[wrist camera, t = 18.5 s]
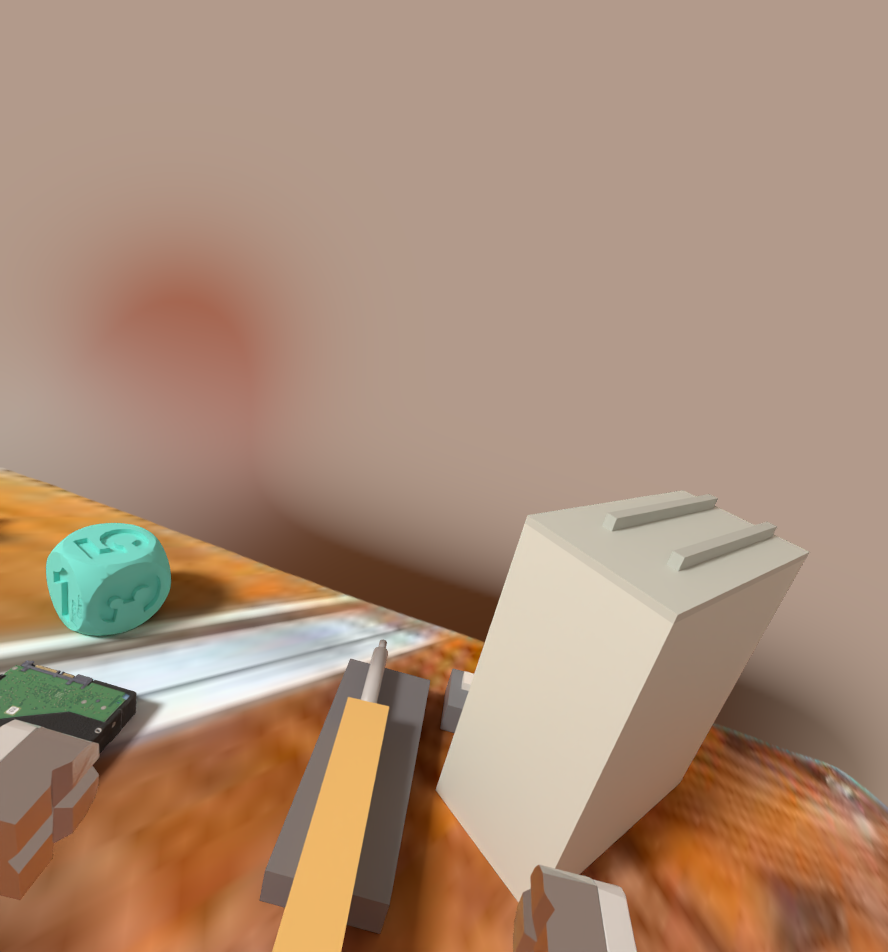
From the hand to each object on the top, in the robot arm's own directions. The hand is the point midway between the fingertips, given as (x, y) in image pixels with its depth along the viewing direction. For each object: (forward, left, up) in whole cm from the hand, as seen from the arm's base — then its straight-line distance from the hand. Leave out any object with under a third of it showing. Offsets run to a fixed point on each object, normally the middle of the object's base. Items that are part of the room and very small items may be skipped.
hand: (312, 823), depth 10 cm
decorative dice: (+29, -36, -30) cm, 55 cm away
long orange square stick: (+1, -22, -27) cm, 35 cm away
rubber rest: (0, -25, -30) cm, 39 cm away
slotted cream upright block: (-18, -30, -30) cm, 46 cm away
